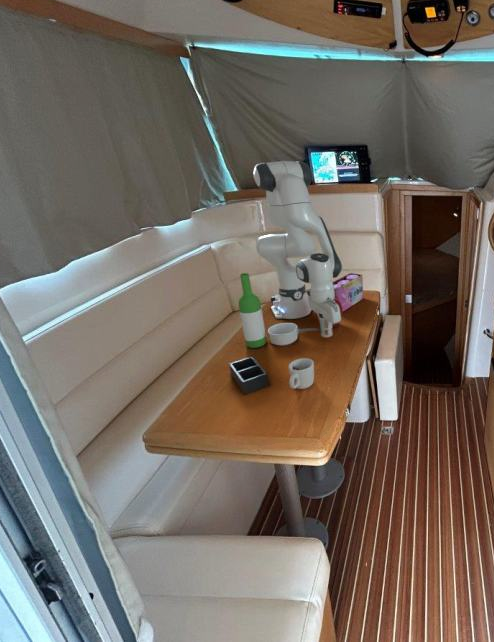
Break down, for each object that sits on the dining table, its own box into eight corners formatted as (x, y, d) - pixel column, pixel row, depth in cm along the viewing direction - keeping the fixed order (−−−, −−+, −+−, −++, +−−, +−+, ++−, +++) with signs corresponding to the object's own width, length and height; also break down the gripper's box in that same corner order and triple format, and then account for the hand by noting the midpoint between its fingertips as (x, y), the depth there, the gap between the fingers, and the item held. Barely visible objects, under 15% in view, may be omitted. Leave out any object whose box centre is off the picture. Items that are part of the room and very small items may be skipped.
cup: (304, 398, 114) (301, 377, 111) (281, 395, 116) (278, 373, 113) (320, 379, 124) (318, 359, 121) (299, 376, 126) (296, 356, 123)
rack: (231, 375, 126) (228, 363, 124) (254, 367, 131) (252, 356, 129) (245, 394, 116) (242, 382, 114) (269, 385, 121) (267, 373, 119)
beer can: (335, 334, 151) (333, 308, 146) (327, 339, 147) (324, 312, 143) (326, 331, 153) (324, 305, 149) (318, 336, 149) (315, 310, 145)
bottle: (263, 348, 143) (251, 277, 133) (243, 349, 143) (229, 277, 132) (269, 339, 151) (258, 271, 140) (250, 340, 150) (237, 271, 139)
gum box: (339, 314, 176) (337, 288, 171) (325, 312, 178) (323, 286, 173) (364, 298, 196) (362, 274, 192) (351, 296, 199) (350, 272, 194)
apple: (337, 318, 171) (335, 291, 166) (348, 325, 164) (346, 297, 159) (316, 324, 164) (313, 296, 159) (327, 332, 157) (324, 303, 152)
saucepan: (315, 347, 145) (314, 334, 143) (265, 347, 144) (263, 334, 142) (322, 334, 156) (321, 322, 154) (275, 334, 155) (273, 322, 153)
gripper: (343, 300, 138) (346, 332, 144) (318, 285, 152) (321, 315, 157) (329, 304, 134) (331, 337, 140) (304, 289, 148) (307, 319, 153)
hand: (326, 325), depth 148 cm, fingers closed on beer can, 5 cm apart
